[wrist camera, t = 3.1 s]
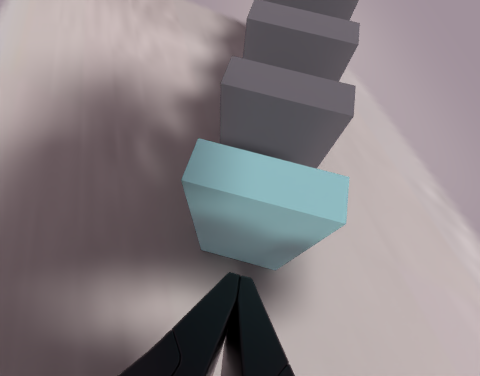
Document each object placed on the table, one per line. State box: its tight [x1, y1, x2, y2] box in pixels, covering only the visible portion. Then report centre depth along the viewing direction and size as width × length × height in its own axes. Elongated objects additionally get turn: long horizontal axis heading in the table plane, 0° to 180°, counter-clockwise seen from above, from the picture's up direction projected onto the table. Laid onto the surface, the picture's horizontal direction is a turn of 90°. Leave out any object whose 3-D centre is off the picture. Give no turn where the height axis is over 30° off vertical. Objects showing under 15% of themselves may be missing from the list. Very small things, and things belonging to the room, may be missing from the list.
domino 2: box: [243, 0, 360, 82], centre depth 16 cm, size 2×5×10 cm, turn 76°
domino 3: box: [220, 56, 355, 169], centre depth 14 cm, size 2×5×10 cm, turn 76°
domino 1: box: [263, 0, 358, 20], centre depth 18 cm, size 2×5×10 cm, turn 76°
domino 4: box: [181, 138, 349, 270], centre depth 12 cm, size 2×5×10 cm, turn 76°
